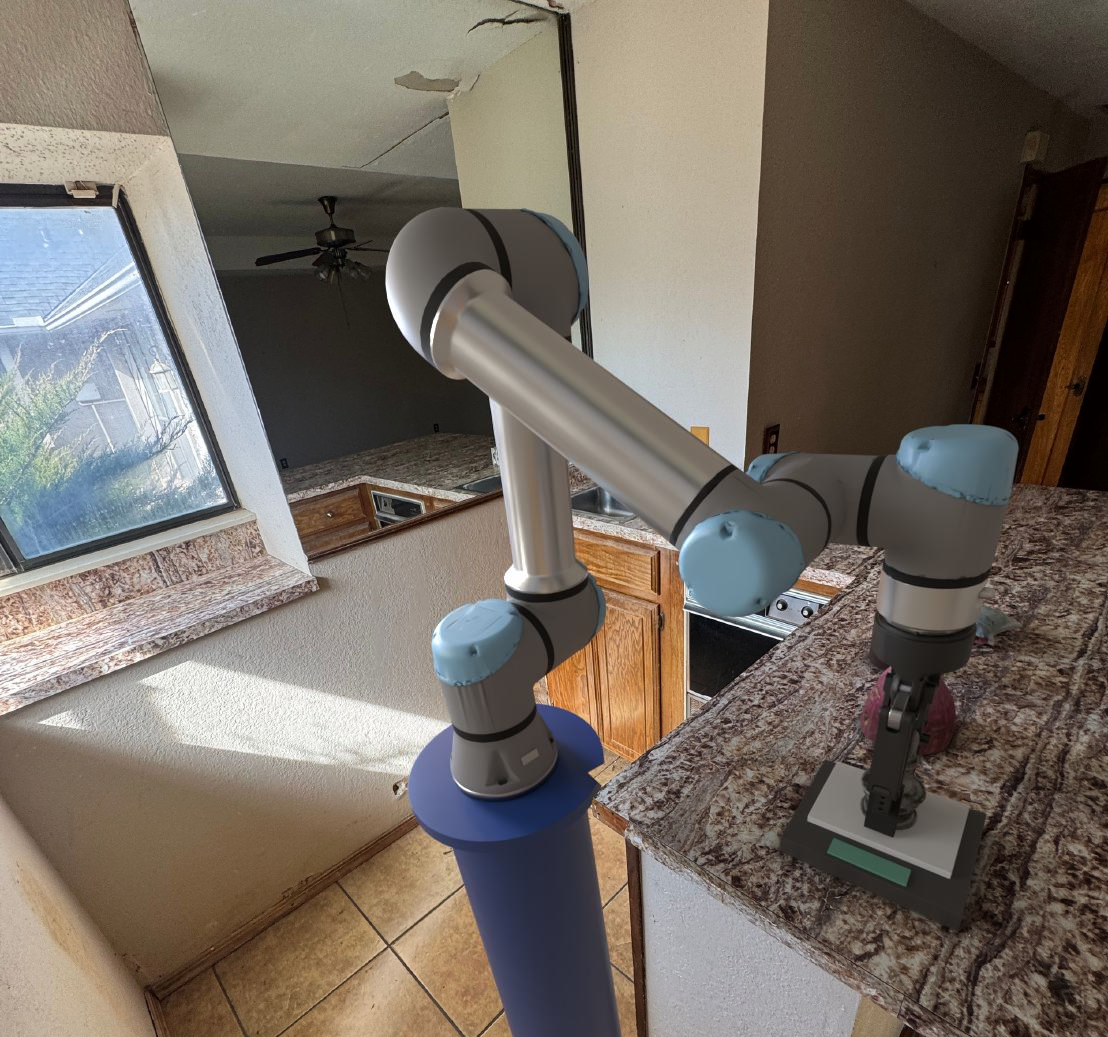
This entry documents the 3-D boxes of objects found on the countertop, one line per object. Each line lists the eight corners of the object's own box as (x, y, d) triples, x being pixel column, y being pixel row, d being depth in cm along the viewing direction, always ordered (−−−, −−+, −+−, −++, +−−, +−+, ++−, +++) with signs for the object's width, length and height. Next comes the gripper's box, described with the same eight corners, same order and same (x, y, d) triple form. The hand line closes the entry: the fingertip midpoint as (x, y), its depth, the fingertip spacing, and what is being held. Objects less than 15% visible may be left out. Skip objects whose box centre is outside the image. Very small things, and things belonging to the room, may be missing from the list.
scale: (779, 851, 61) (781, 831, 60) (823, 772, 70) (825, 754, 69) (957, 931, 51) (964, 910, 50) (982, 828, 60) (988, 808, 59)
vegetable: (943, 780, 70) (991, 707, 60) (851, 752, 75) (881, 679, 64) (949, 715, 76) (993, 639, 66) (864, 693, 81) (893, 617, 70)
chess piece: (932, 813, 59) (955, 721, 53) (899, 842, 57) (919, 749, 51) (877, 782, 64) (893, 694, 58) (844, 807, 61) (857, 718, 56)
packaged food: (941, 610, 98) (946, 585, 96) (1020, 635, 89) (1028, 607, 87) (910, 628, 95) (915, 602, 93) (989, 656, 86) (996, 628, 83)
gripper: (956, 682, 41) (906, 892, 52) (994, 580, 53) (947, 768, 64) (844, 656, 45) (820, 854, 56) (902, 568, 57) (873, 745, 68)
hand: (887, 808), depth 60 cm, fingers closed on chess piece, 6 cm apart
